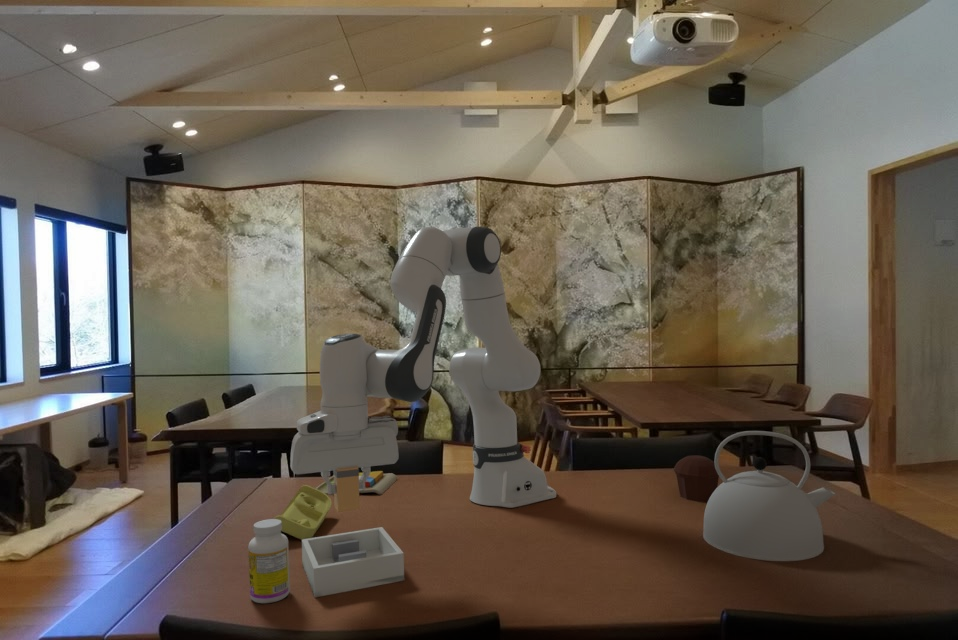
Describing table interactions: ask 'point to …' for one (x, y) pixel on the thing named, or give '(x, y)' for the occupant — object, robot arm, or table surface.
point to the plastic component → (305, 513)
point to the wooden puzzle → (369, 482)
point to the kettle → (765, 512)
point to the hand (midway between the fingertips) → (346, 491)
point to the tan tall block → (346, 489)
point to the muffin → (696, 477)
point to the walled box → (351, 561)
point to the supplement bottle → (269, 562)
